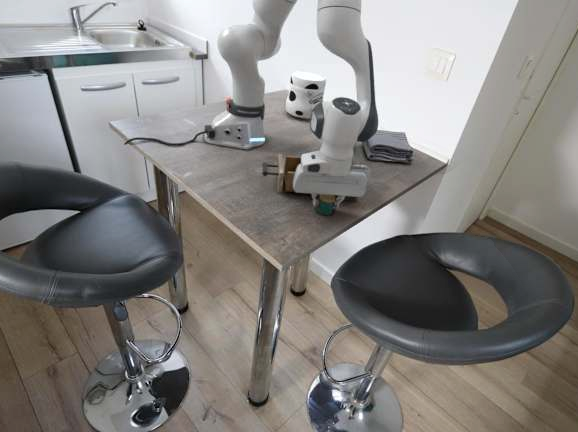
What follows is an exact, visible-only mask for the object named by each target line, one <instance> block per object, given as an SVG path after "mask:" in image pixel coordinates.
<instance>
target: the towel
mask: <svg viewBox="0 0 578 432" xmlns="http://www.w3.org/2000/svg"><path fill="white" fill-rule="evenodd" d="M361 145H362V147H363V149H364V152H365V154H366V157H367V159H368V160H371V161H379V162H393V163H406V164H411V163H412V161H413V160H414V157H413V156H414V149H413V147H412V146H411V145H410V143H409V141H408V138H407V134H406V132H403V131H391V130H384V129H383V130H381V129H377V131H376V133H375V134H374V135H373V136H372V137H371V138H370V139H369V140H367V141H366V142H361Z"/></svg>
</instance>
